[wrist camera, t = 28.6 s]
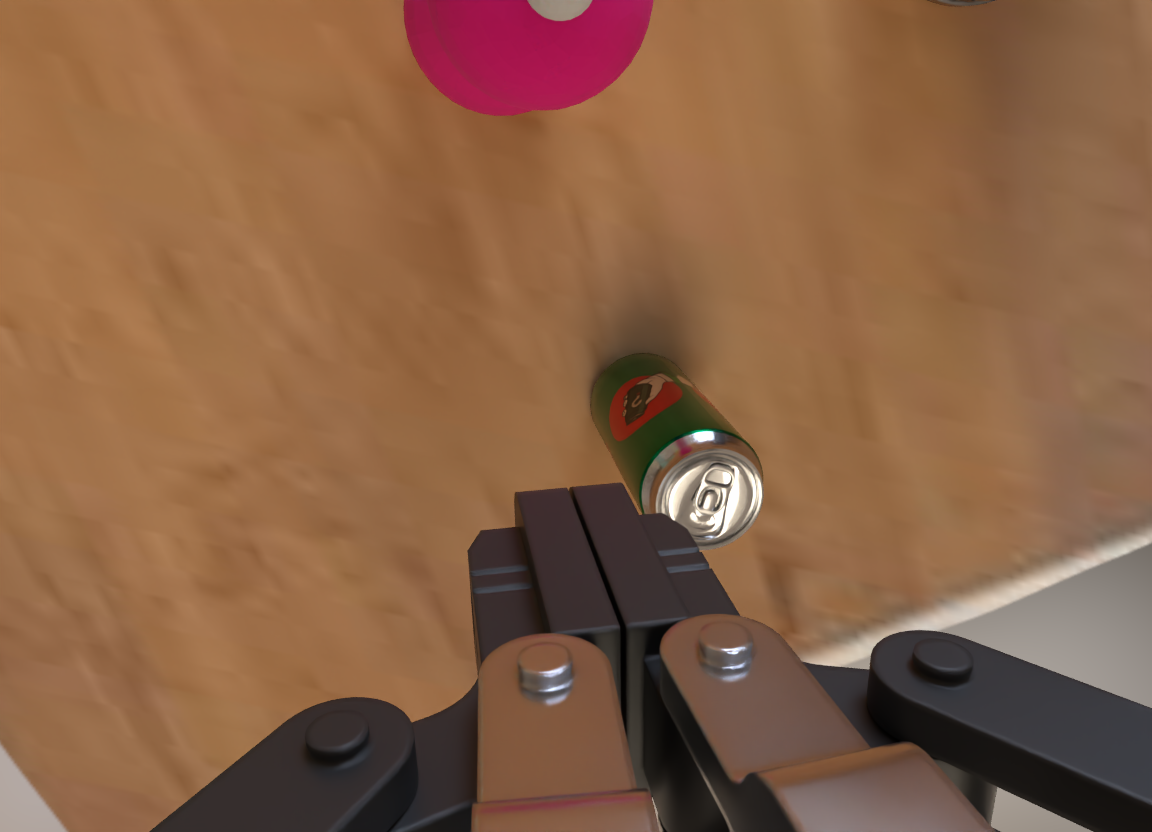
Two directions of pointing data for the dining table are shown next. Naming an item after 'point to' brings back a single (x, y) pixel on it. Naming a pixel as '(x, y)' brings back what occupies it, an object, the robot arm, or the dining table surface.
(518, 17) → the pepper mill
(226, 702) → the dining table surface
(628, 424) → the soda can
